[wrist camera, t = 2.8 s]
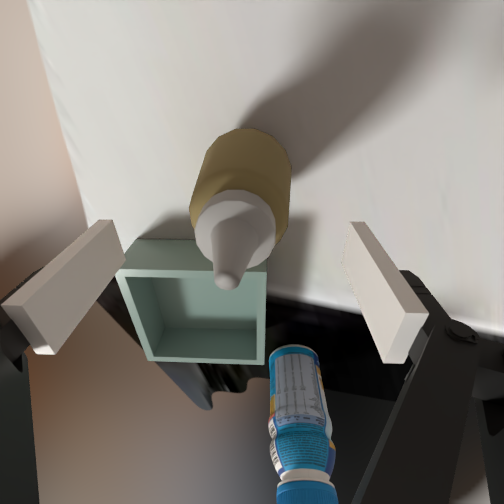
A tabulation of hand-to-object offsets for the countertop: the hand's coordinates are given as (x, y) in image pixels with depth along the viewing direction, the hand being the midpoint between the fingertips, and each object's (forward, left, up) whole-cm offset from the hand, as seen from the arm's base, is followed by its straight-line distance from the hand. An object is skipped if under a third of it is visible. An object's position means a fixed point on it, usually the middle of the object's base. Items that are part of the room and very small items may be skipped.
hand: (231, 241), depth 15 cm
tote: (+17, -6, -14) cm, 23 cm away
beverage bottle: (+32, +7, -15) cm, 36 cm away
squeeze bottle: (0, 0, -15) cm, 15 cm away
